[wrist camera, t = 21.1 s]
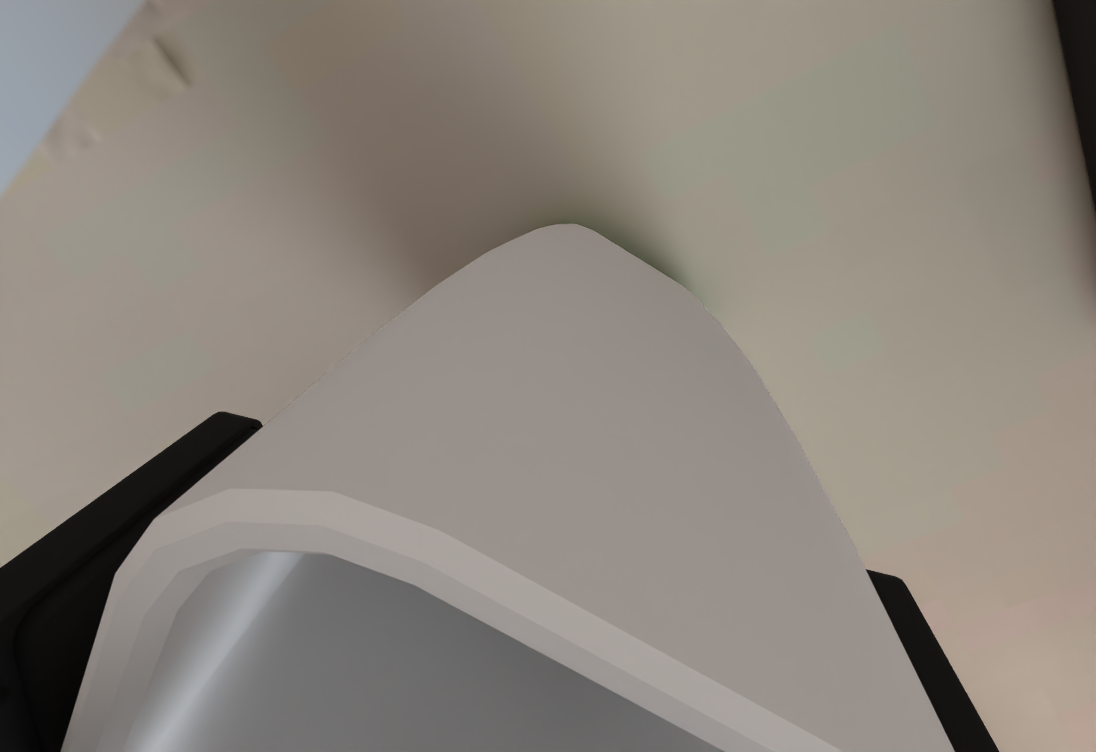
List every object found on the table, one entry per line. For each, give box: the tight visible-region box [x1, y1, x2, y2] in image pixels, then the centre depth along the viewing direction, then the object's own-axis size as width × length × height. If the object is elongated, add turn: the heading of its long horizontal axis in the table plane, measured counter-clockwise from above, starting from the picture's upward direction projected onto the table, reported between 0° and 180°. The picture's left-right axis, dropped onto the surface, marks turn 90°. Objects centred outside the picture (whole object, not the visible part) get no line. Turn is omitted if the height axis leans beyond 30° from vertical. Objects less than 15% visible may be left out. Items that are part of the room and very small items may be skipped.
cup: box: [61, 224, 955, 752], centre depth 12 cm, size 7×7×15 cm
